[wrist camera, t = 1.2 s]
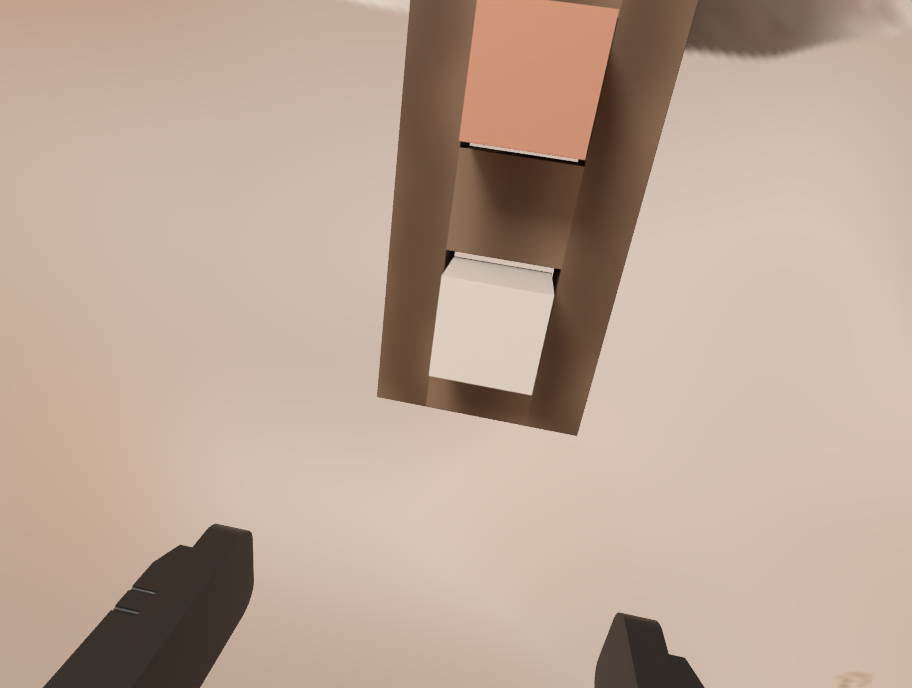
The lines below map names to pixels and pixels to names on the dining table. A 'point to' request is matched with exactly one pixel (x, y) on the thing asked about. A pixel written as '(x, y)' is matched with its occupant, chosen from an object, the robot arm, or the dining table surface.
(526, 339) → the white button
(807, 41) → the dining table surface
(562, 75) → the terracotta button
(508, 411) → the button panel
